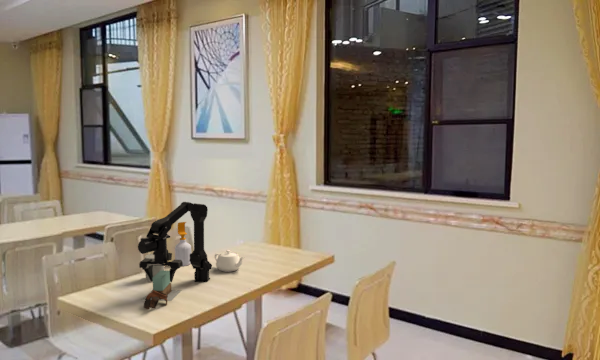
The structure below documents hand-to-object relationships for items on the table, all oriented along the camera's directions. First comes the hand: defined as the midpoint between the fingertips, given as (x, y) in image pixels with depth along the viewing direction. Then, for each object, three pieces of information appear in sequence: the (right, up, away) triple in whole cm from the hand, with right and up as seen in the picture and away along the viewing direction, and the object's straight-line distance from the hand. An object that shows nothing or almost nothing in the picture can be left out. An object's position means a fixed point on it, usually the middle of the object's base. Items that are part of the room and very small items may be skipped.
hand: (161, 281), depth 223 cm
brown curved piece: (+1, -9, -13) cm, 16 cm away
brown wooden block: (0, -7, -2) cm, 7 cm away
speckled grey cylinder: (-10, -4, +25) cm, 27 cm away
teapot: (+25, -2, +41) cm, 48 cm away
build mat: (0, -7, +1) cm, 7 cm away
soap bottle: (-2, -1, +52) cm, 52 cm away
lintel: (0, -2, 0) cm, 2 cm away
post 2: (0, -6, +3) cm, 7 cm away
